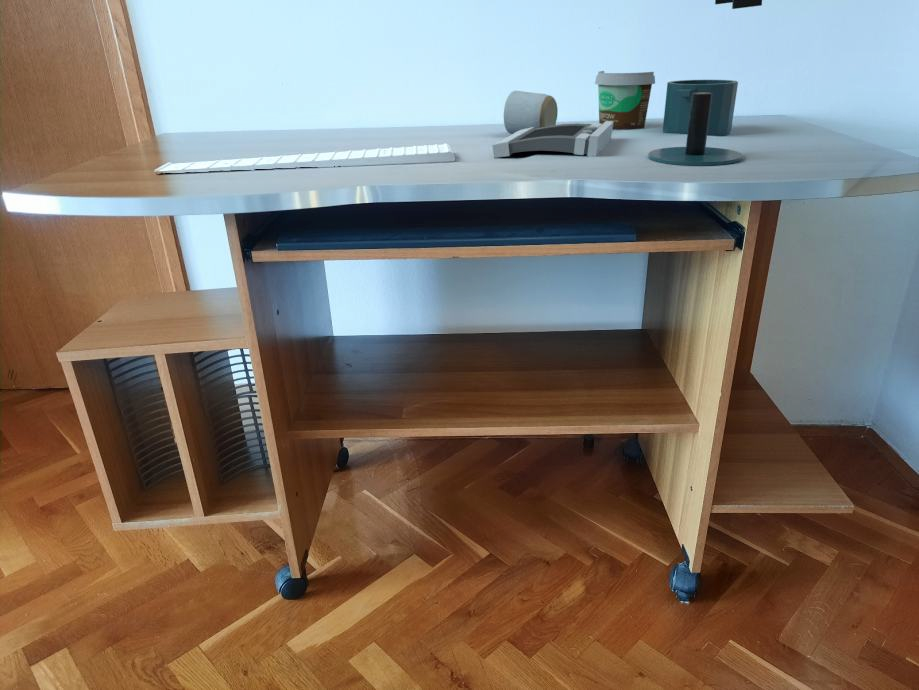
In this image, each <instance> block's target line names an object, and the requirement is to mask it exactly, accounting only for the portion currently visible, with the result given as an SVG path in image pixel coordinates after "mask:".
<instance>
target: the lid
mask: <svg viewBox="0 0 919 690" xmlns="http://www.w3.org/2000/svg"><path fill="white" fill-rule="evenodd" d="M711 101H712V93H707V92H699V93H692V100H691V108H690V117H689V125H688V134H686V142H685V146H674V147H673V146H671V147H663V148H656V149H653V150H651V151H649V152H648V155H647V157H648V159H649V160H651V161H654V162H657V163H662V164H668V165H677V166H695V167H696V166H698V167H700V166H701V167H702V166H703V167H704V166H705V167H707V166H708V167H709V166H724V165H731V164H735V163H738V162H739V163H740V162H742V161H743V158H744V155H743V153H742V152H739V151H737V150H734V149H728V148H720V147H708V146H707V139H708V136H707V132H708V124H709V116H710V109H711Z"/></svg>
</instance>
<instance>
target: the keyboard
mask: <svg viewBox="0 0 919 690" xmlns="http://www.w3.org/2000/svg"><path fill="white" fill-rule="evenodd" d="M449 162H456V155H455V153H454V151H453V149H452V146H451V145H450V144H448V143H447V142H444V144H437V143H435V144H424V145H415V144H414V145H413V146H404V145H403V146H402V147H392V146H390V147H388V148H380V147H377V148H374V149H367V148H364V149H362V150H361V149H360V150H351V149H349V150H347V151H346V150H345V151H336V150H334V151H333V152H316V153H305V154H302V153H299V154H291V155H290V154H289V155H284V154H281V155H278V156H277V155H276V156H264V155H263V156H261V157H252V158H251V157H250V158H243V157H240V158H236V159H217V160H208V161H196V160H194V161H192V162H180V163H172V162H171V161H169V162H167V163H165V164H163V165H161V166H159V167H157V168H156V169H154V170H153V171H154V173H155V172H181V171H199V170H221V169H260V168H292V167H293V168H294V167H318V168H335V167H336V168H337V167H338V166H341V167H357V166H358V167H361V166H382V165H383V166H384V165H404V164H405V165H406V164H427V163H428V164H429V163H430V164H431V163H449ZM334 166H335V167H334Z"/></svg>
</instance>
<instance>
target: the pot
mask: <svg viewBox="0 0 919 690" xmlns="http://www.w3.org/2000/svg"><path fill="white" fill-rule="evenodd" d="M738 85H739V82H738V81H737V80H731V79H684V80H683V79H681V80H671V81H667V83H666V94H665V104H664V113H663V122H662V123H663V124H662V134H673V135H687V134H688V125H689V117H690V108H691V100H692V93H699V92H707V93H712V101H711V109H710V116H709V124H708V132H707V137H723V136H728V135H730V134H731V131H732V127H733V120H734V113H735V108H736V107H735V106H736V99H737V91H738V87H739V86H738Z"/></svg>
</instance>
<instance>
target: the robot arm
mask: <svg viewBox="0 0 919 690" xmlns="http://www.w3.org/2000/svg"><path fill="white" fill-rule="evenodd" d="M714 1H715V2H714V5H722V4H732V5H731V9H732V10H736V9H744V8H753V7H760V6H761V7H762V6H763V0H714Z"/></svg>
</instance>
